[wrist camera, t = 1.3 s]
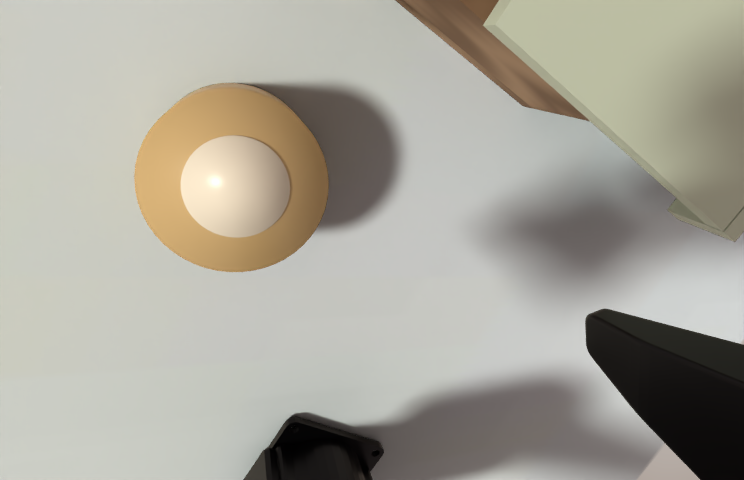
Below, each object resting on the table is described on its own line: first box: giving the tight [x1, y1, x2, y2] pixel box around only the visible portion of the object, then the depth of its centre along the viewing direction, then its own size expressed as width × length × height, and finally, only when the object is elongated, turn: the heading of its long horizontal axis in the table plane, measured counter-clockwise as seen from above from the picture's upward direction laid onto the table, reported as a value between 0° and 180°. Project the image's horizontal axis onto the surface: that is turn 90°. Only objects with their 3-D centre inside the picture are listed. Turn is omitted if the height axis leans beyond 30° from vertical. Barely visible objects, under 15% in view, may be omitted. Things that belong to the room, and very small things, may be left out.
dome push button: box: [134, 83, 329, 272], centre depth 18 cm, size 6×6×4 cm
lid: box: [483, 0, 744, 242], centre depth 18 cm, size 16×10×3 cm
